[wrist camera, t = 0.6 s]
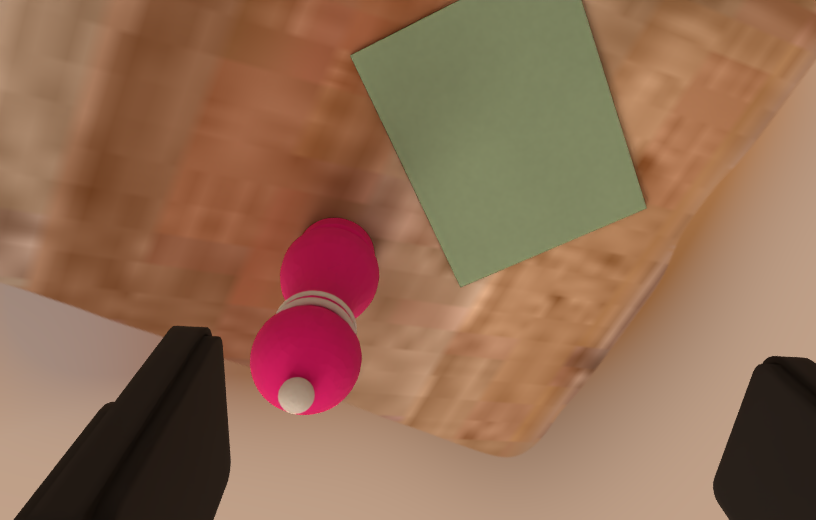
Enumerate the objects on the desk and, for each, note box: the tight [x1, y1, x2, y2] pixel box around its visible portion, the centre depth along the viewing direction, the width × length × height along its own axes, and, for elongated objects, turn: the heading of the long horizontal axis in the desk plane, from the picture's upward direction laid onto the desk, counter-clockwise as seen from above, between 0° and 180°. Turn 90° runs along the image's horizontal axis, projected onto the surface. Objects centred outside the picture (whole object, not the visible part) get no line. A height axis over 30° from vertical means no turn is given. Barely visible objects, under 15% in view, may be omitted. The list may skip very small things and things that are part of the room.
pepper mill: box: [250, 218, 379, 415], centre depth 36 cm, size 7×7×20 cm
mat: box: [351, 0, 646, 287], centre depth 41 cm, size 20×16×1 cm
